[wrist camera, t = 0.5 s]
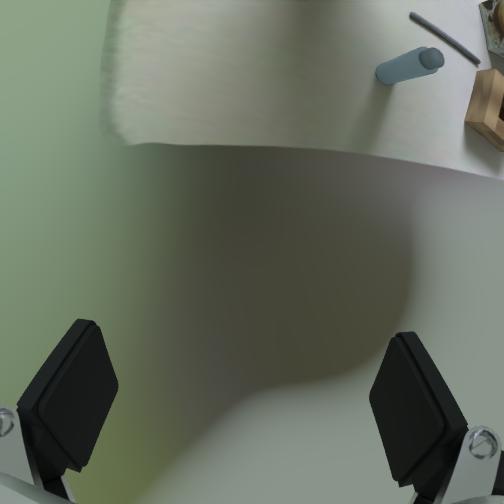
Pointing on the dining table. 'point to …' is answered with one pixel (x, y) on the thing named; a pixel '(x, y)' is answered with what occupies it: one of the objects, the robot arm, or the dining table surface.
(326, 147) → the dining table surface
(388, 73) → the pale blue cylinder
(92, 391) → the robot arm
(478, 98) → the hollow square frame
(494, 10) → the coffee box
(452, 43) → the grey thin rod
